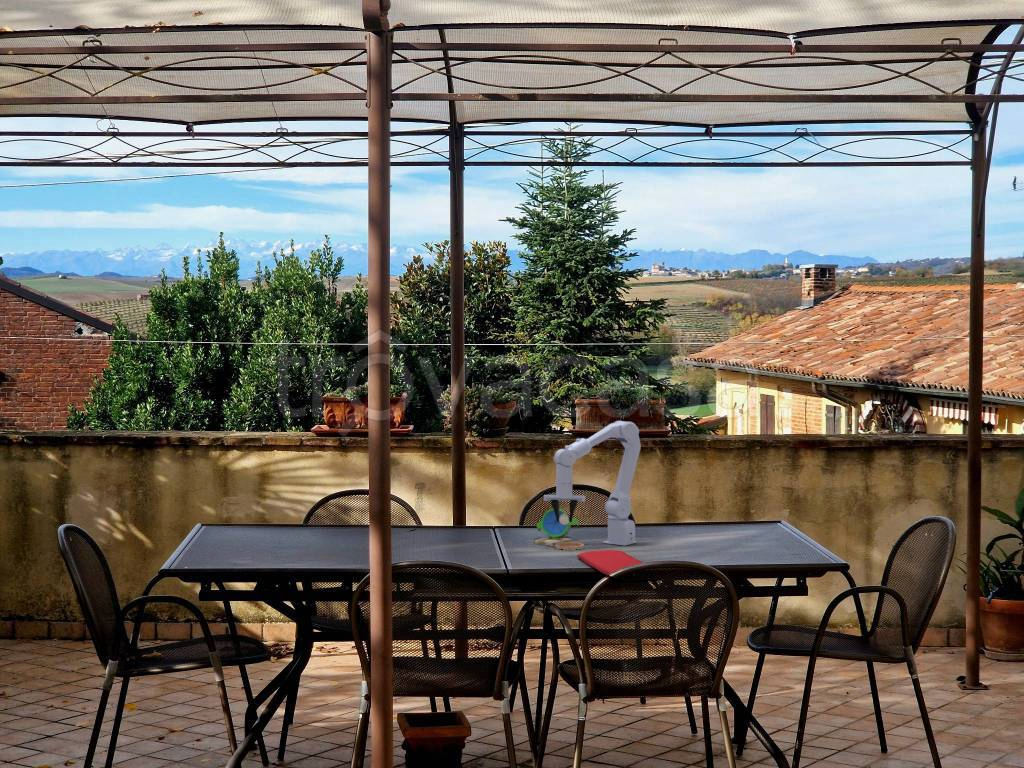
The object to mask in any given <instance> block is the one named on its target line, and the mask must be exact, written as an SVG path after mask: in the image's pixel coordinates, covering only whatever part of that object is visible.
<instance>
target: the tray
mask: <svg viewBox="0 0 1024 768" xmlns="http://www.w3.org/2000/svg"><path fill="white" fill-rule="evenodd" d="M562 542H572V538H566V537H549V536H547V537H544V538H540V539H539V538H538V539H535V540H533V545H539V544H541V545H542V546H547V545H549V546H548V547H555V544H557V543H562ZM541 545H540V546H541Z"/></svg>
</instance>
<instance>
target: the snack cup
mask: <svg viewBox="0 0 1024 768" xmlns="http://www.w3.org/2000/svg"><path fill="white" fill-rule="evenodd" d="M564 513H565V514H567V513H566V512H565V511H564V509H561V508H559V516H560V515H561V514H564ZM572 525H577V527H579V525H580V524H579V518H578V519H577V518H574V517H573V518H572V522H569V523H568V524H566V525H563V524H561V523H560V522H557V520H556V515H555V512H554V510H553V508H552V509H549V510H546V512H545V513H544V514H543V516H542V518H541V520H540V521H538V522H537V523H536V529H537V531H538V532H541V530H542V531H543V532H544V533H545V534H546V535H547V537H559V538H564V537H566V536H567V535H568V534H569V533H570V531H571V526H572Z"/></svg>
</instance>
